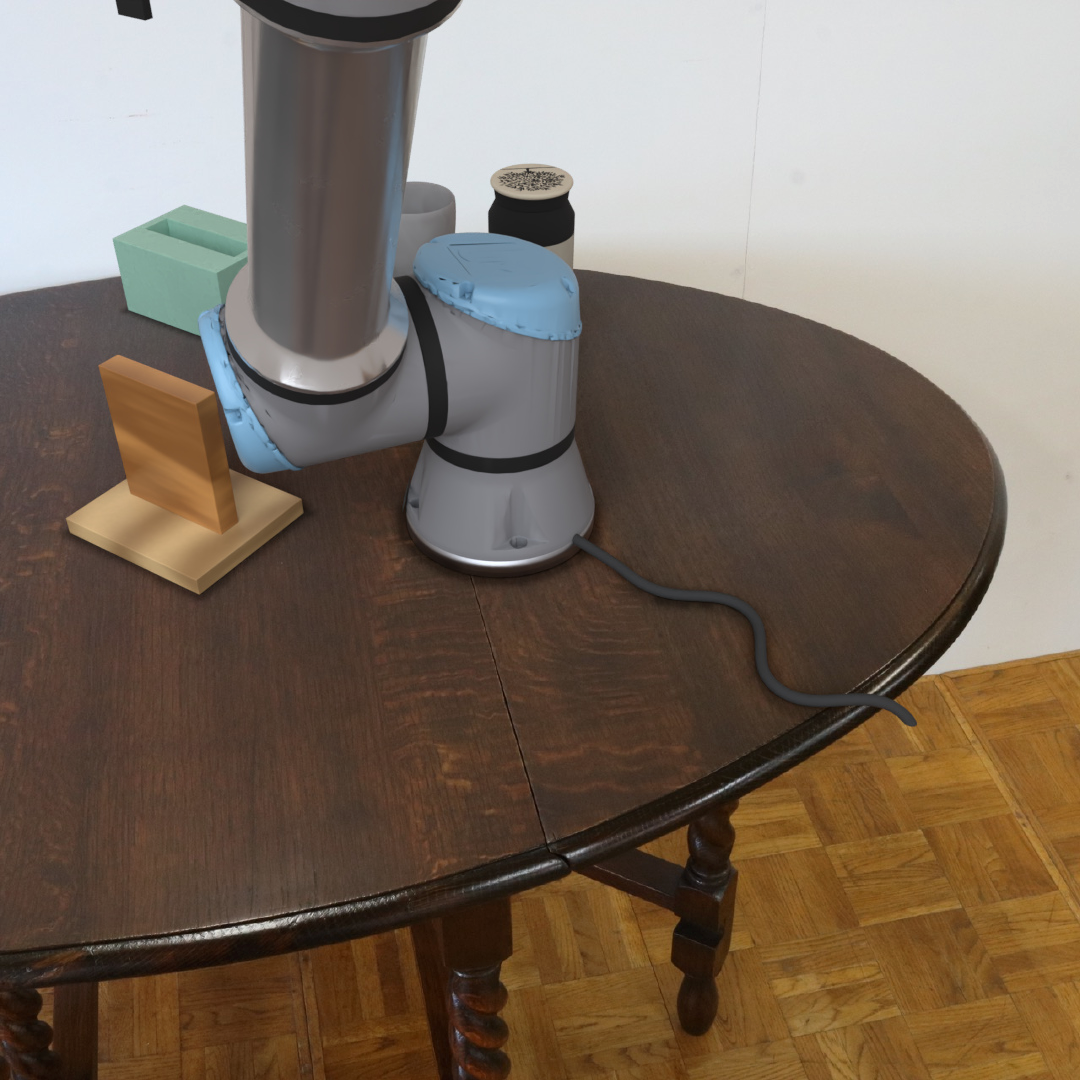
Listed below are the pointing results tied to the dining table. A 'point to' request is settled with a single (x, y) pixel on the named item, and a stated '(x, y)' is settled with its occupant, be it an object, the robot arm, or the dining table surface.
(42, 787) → the dining table surface
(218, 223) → the toaster
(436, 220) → the mug
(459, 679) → the dining table surface
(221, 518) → the toast
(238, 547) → the board
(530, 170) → the travel mug
